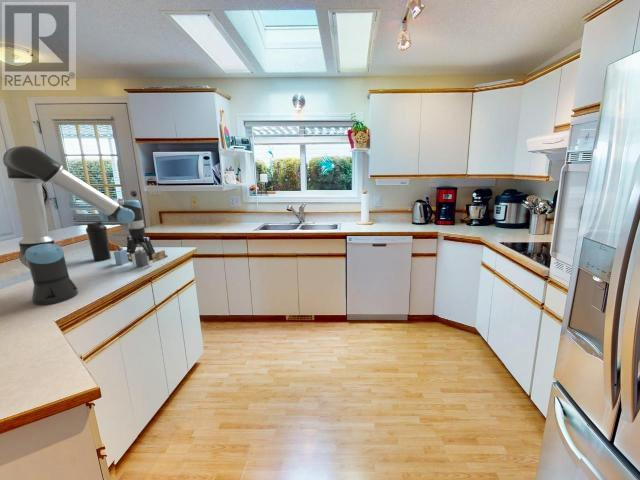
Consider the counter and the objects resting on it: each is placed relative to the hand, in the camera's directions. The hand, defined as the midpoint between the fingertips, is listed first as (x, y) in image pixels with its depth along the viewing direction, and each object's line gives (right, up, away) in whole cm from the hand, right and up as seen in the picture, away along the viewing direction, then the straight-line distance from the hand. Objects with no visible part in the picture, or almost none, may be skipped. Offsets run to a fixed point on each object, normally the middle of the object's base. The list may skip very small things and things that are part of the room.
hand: (143, 265), depth 172 cm
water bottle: (-33, +2, +13) cm, 35 cm away
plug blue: (-14, +1, +4) cm, 15 cm away
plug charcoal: (0, 0, 0) cm, 0 cm away
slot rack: (-5, +3, +12) cm, 14 cm away
